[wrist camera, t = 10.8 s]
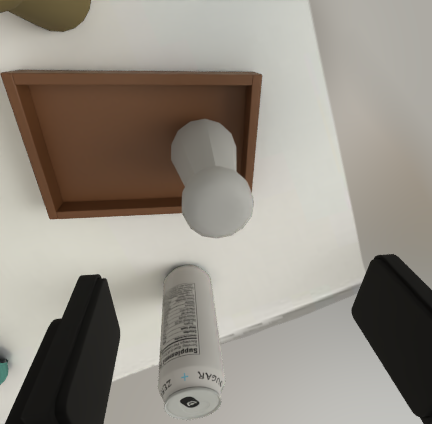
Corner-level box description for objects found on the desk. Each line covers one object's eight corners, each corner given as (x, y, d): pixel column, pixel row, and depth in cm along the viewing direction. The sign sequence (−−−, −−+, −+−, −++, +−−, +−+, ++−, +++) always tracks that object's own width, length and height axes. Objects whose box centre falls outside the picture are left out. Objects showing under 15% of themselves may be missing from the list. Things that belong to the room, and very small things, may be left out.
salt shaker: (195, 183, 29) (207, 269, 18) (158, 139, 26) (144, 208, 15) (242, 150, 28) (287, 220, 16) (209, 100, 25) (235, 143, 14)
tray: (254, 71, 25) (262, 74, 22) (244, 197, 31) (250, 210, 29) (18, 70, 23) (-1, 72, 20) (59, 205, 29) (49, 219, 27)
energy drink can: (180, 302, 38) (182, 429, 26) (154, 275, 35) (141, 405, 23) (218, 282, 37) (240, 405, 25) (194, 253, 34) (205, 376, 22)
